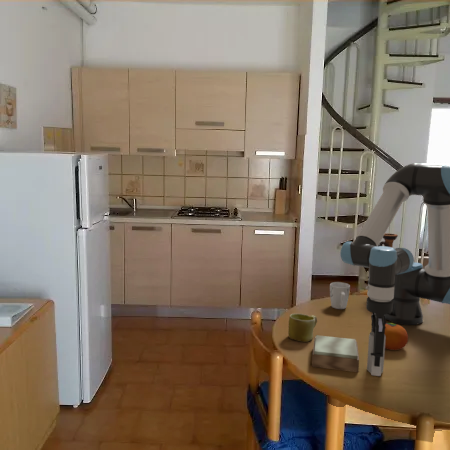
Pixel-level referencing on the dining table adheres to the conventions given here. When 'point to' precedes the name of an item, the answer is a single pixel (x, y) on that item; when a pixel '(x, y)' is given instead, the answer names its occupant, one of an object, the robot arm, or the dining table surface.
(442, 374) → the dining table surface
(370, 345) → the beverage can
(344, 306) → the mug
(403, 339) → the fruit
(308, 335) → the mug
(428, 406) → the dining table surface
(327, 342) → the podium
